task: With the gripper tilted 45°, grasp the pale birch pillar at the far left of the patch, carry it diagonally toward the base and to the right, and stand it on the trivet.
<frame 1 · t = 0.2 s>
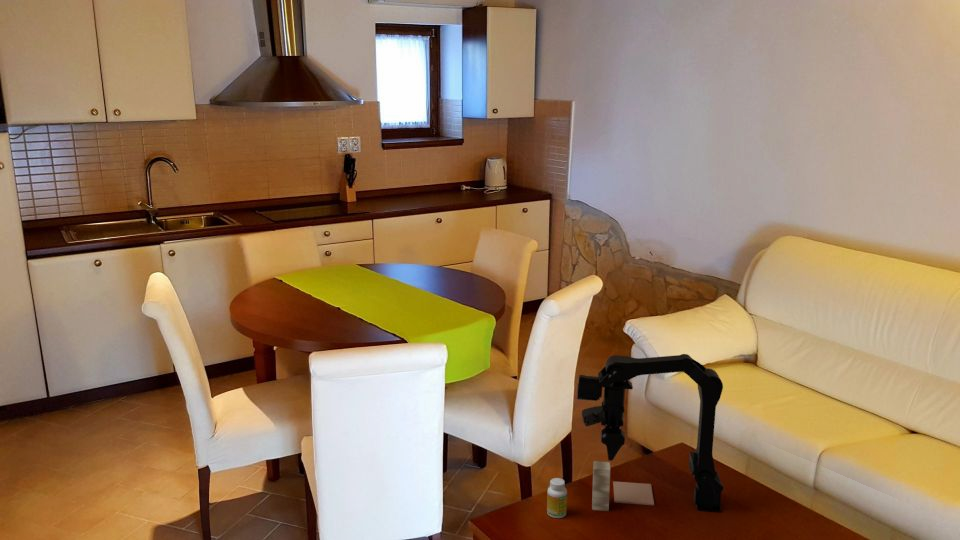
hand: (609, 452, 204), 15 cm above the table, tool pointing down, fingers open, 9 cm apart
supplement bottle: (556, 514, 200), on the table
trivet: (632, 493, 210), on the table
birch pillar: (600, 506, 204), on the table
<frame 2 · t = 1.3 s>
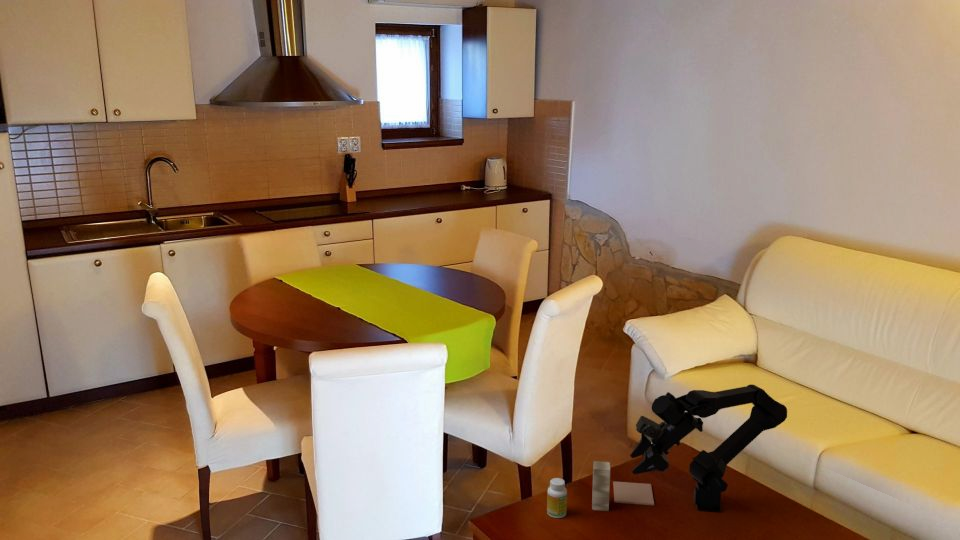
hand: (632, 464, 199), 13 cm above the table, tool tilted 45°, fingers open, 9 cm apart
nothing on the table moved.
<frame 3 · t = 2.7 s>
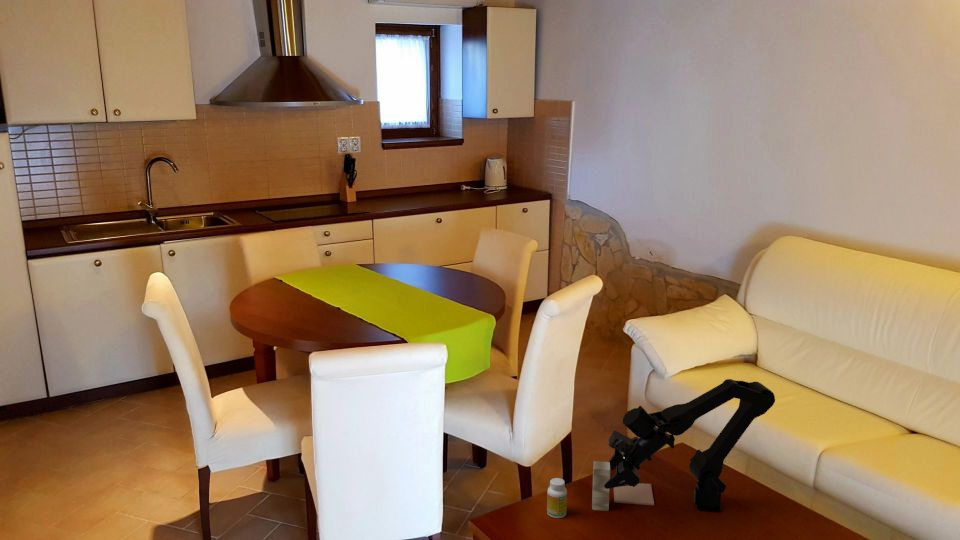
hand: (604, 479, 201), 8 cm above the table, tool tilted 45°, fingers open, 9 cm apart
nothing on the table moved.
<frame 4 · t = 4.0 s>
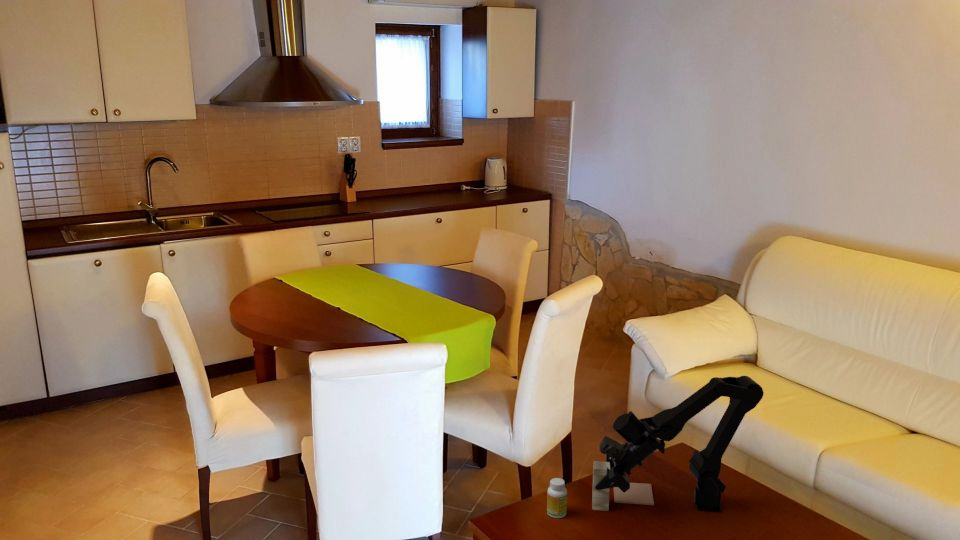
hand: (596, 484, 202), 7 cm above the table, tool tilted 45°, fingers closed on birch pillar, 4 cm apart
birch pillar: (600, 506, 204), on the table, touching gripper
everything else where it was.
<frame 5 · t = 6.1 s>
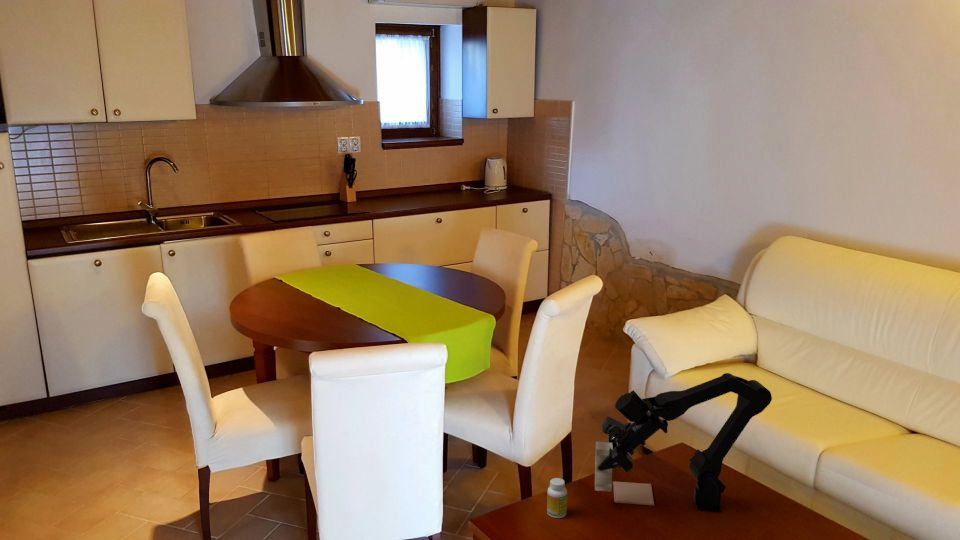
hand: (598, 465, 201), 12 cm above the table, tool tilted 45°, fingers closed on birch pillar, 4 cm apart
birch pillar: (603, 486, 203), point 6 cm above the table, touching gripper
everything else where it was.
when the fingers open (8 cm above the table, at t = 8.2 s): birch pillar drops 1 cm, resting on trivet.
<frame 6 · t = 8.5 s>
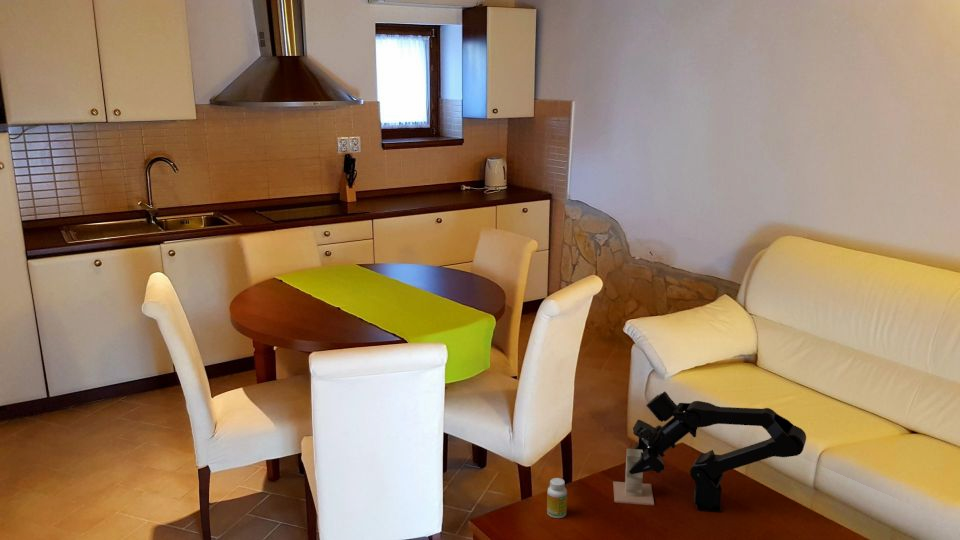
hand: (629, 466, 208), 9 cm above the table, tool tilted 45°, fingers open, 7 cm apart
birch pillar: (633, 492, 210), resting on trivet
everything else where it was.
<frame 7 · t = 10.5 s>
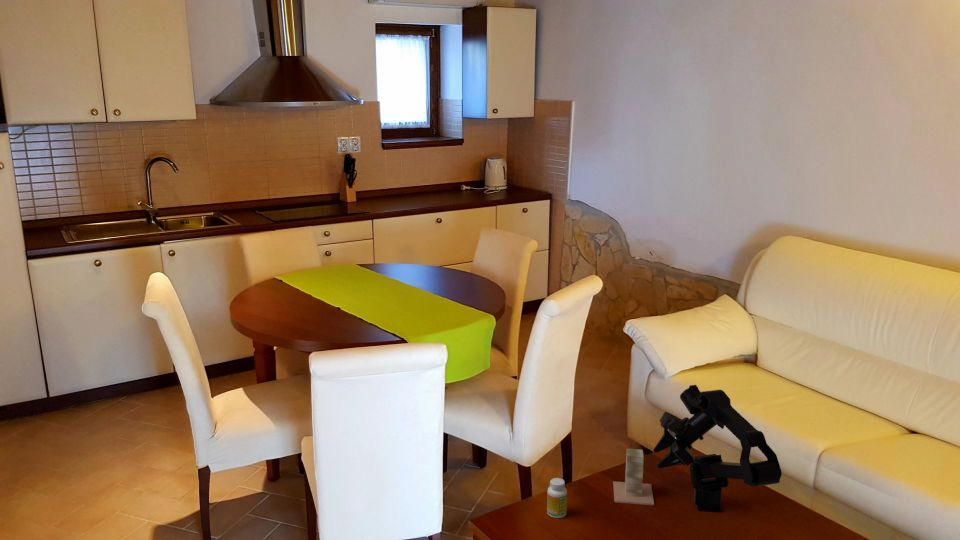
hand: (655, 459, 206), 12 cm above the table, tool tilted 45°, fingers open, 9 cm apart
nothing on the table moved.
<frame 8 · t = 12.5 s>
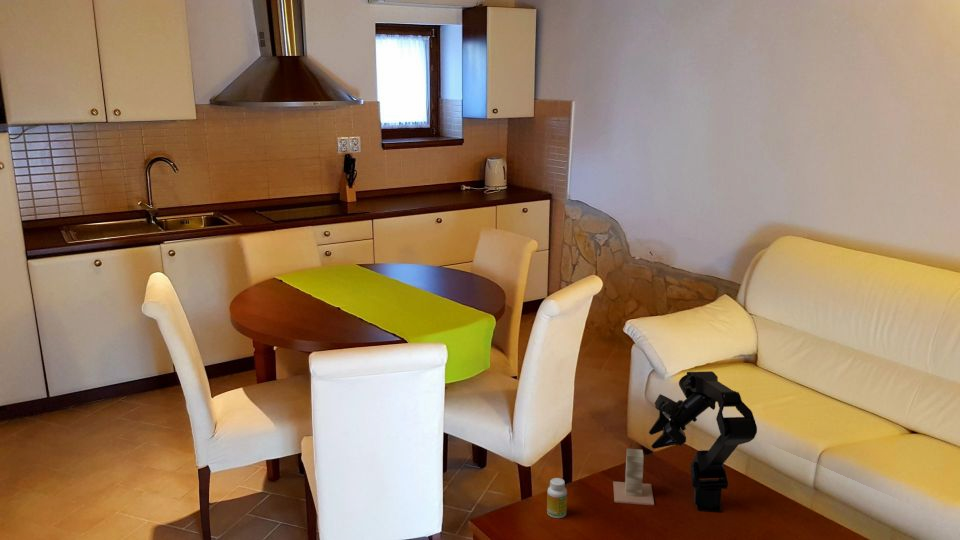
hand: (651, 440, 213), 14 cm above the table, tool tilted 45°, fingers open, 9 cm apart
nothing on the table moved.
at the end: birch pillar inside the target area on the trivet (0.0 cm from its centre), point 0.5 cm above the trivet's base; birch pillar tilted 0°; the gripper is holding nothing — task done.
